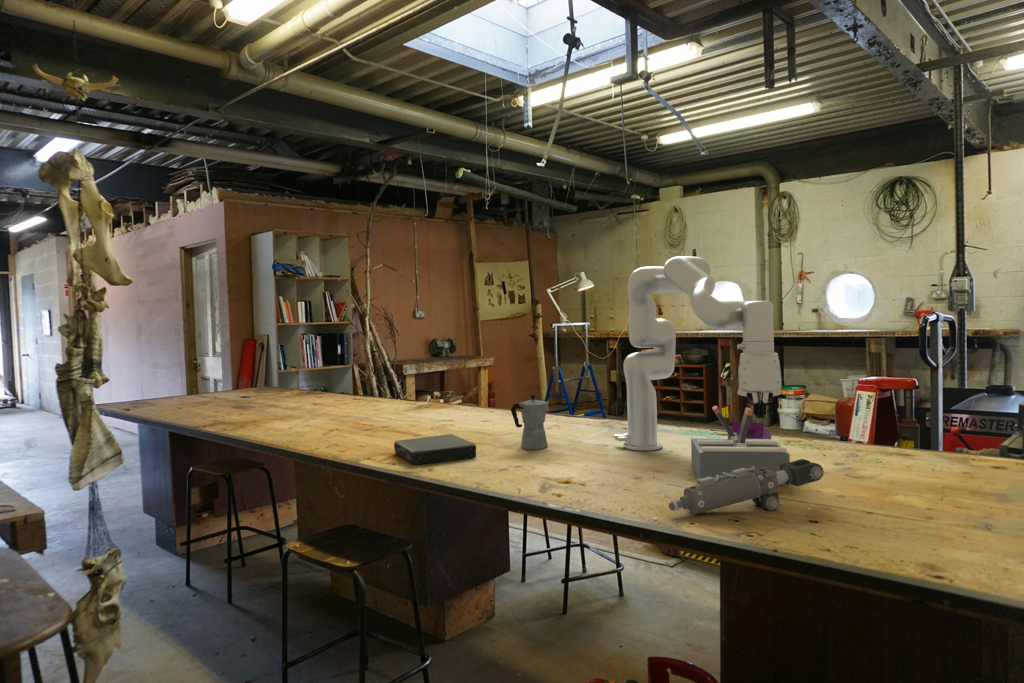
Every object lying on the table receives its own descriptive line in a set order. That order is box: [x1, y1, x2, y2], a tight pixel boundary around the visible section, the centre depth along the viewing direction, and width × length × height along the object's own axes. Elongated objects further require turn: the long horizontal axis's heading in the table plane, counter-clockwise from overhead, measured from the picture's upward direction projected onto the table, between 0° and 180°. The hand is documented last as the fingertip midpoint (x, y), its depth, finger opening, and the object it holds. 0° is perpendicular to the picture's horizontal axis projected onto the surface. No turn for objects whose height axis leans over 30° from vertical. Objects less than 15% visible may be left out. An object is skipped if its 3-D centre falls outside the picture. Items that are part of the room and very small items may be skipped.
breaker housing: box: [690, 405, 791, 486], centre depth 170 cm, size 22×19×18 cm
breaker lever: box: [736, 406, 754, 445], centre depth 166 cm, size 1×4×11 cm, turn 170°
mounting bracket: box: [731, 421, 772, 439], centre depth 202 cm, size 9×8×18 cm
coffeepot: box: [510, 393, 550, 451], centre depth 212 cm, size 15×9×18 cm, turn 122°
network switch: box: [393, 433, 477, 466], centre depth 204 cm, size 23×23×5 cm
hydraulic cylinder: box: [668, 458, 825, 516], centre depth 141 cm, size 7×37×10 cm, turn 101°
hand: (759, 417), depth 165 cm, fingers closed
